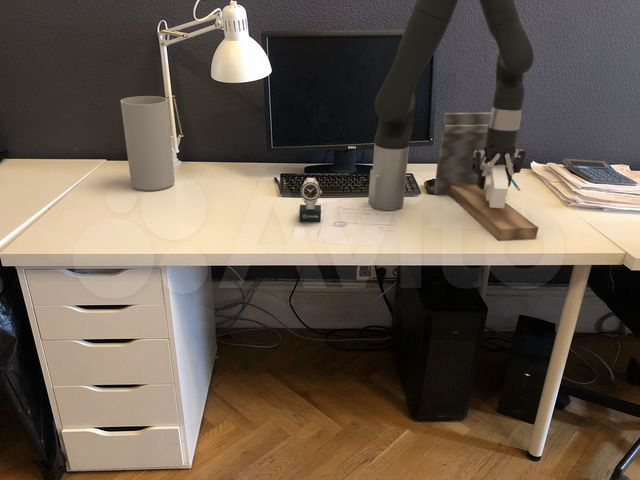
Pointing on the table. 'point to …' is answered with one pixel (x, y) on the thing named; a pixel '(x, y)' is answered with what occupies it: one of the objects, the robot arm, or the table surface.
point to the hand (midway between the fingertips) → (493, 187)
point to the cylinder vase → (148, 142)
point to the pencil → (515, 185)
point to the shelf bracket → (496, 186)
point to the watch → (310, 202)
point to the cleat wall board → (474, 176)
